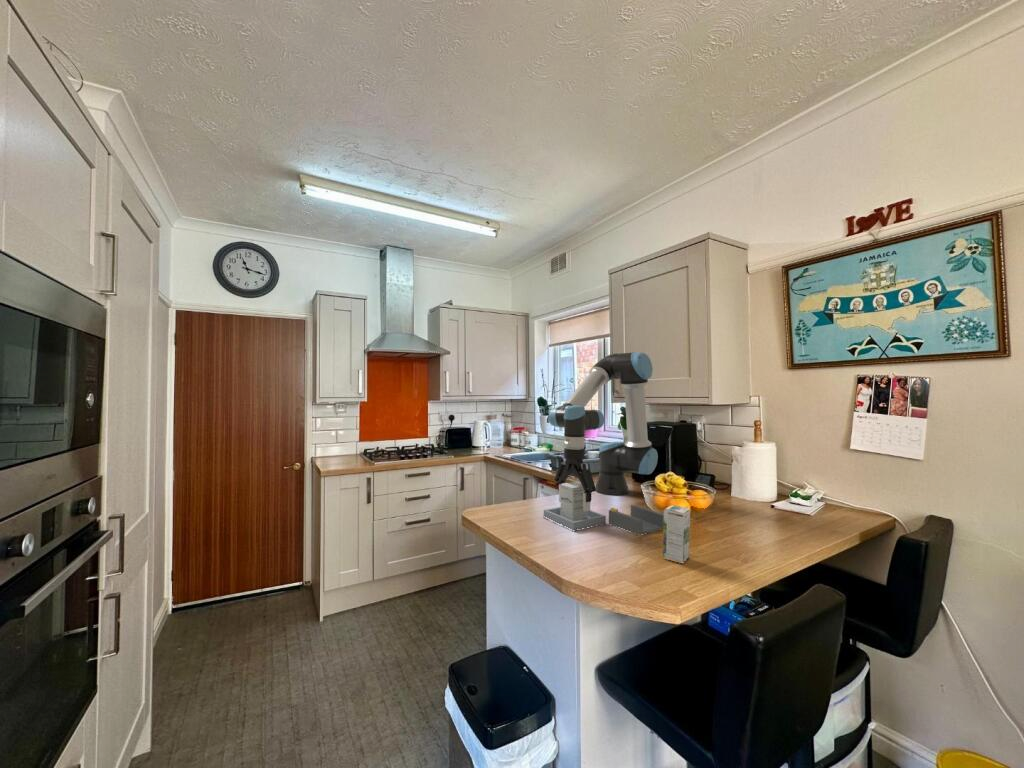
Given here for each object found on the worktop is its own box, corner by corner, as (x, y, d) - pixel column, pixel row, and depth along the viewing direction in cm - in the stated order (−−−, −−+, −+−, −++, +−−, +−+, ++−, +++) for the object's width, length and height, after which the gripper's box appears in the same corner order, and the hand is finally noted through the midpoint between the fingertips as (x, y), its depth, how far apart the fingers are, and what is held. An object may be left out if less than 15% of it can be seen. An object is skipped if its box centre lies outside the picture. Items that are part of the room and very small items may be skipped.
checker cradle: (633, 518, 156) (633, 502, 156) (665, 528, 144) (665, 512, 144) (608, 523, 149) (608, 507, 149) (639, 535, 137) (639, 518, 137)
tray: (574, 511, 163) (574, 504, 163) (605, 524, 149) (605, 515, 149) (543, 518, 155) (543, 510, 155) (573, 531, 141) (573, 522, 141)
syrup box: (669, 553, 123) (669, 504, 123) (690, 558, 119) (690, 508, 119) (662, 559, 118) (662, 508, 118) (684, 565, 115) (684, 512, 115)
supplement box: (559, 517, 153) (559, 483, 153) (575, 514, 157) (575, 481, 157) (572, 523, 147) (572, 487, 147) (588, 520, 150) (588, 485, 150)
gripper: (545, 444, 160) (545, 499, 160) (590, 453, 139) (590, 516, 139) (560, 443, 164) (560, 496, 164) (606, 451, 143) (606, 513, 143)
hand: (574, 505), depth 152 cm, fingers open, 13 cm apart
